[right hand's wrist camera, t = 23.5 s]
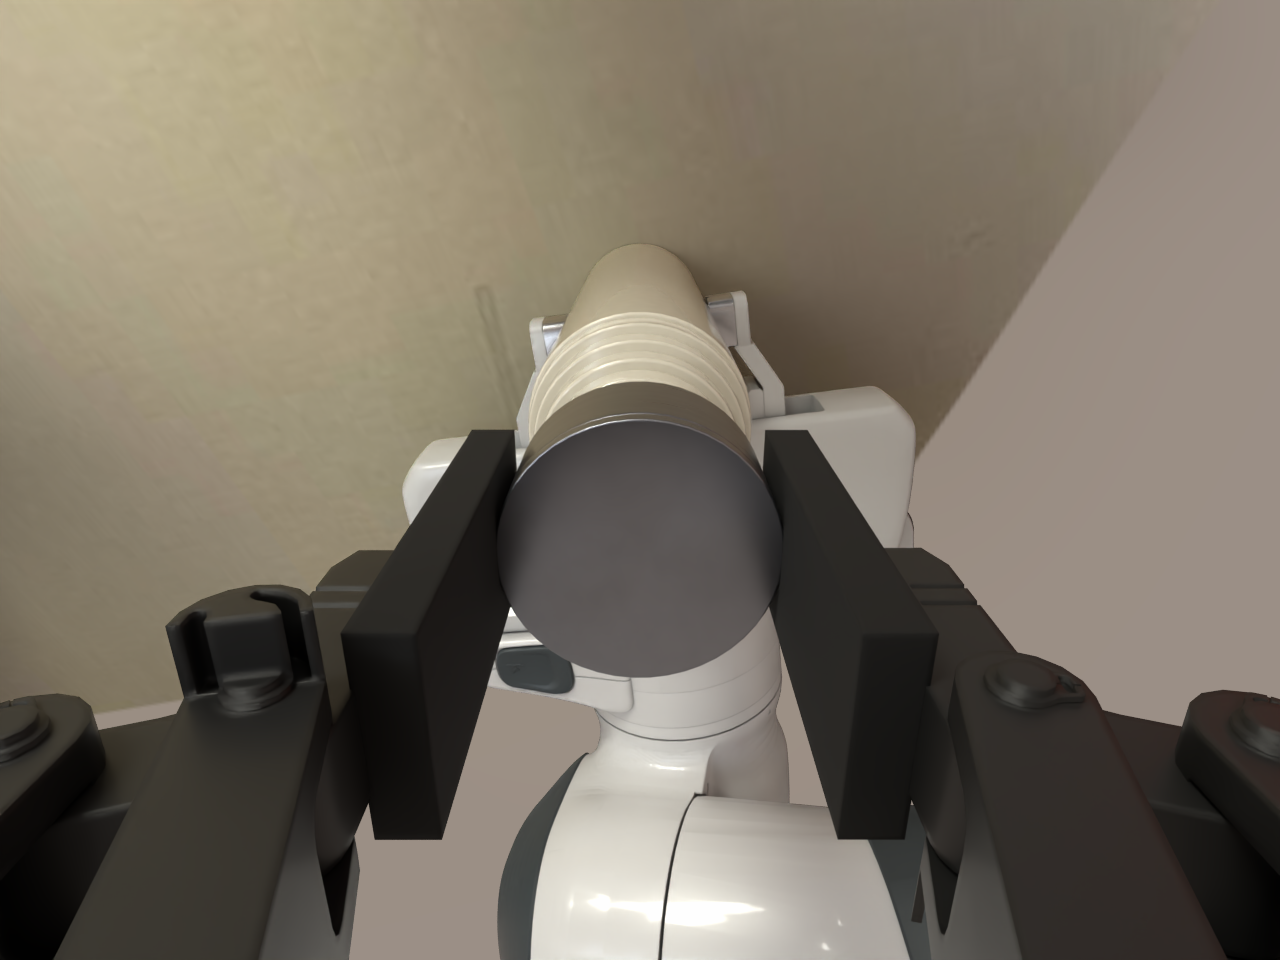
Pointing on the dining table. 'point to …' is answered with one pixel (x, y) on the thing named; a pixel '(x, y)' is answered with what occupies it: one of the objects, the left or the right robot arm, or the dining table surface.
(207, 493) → the dining table surface
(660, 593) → the cap
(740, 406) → the bottle
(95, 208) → the dining table surface
